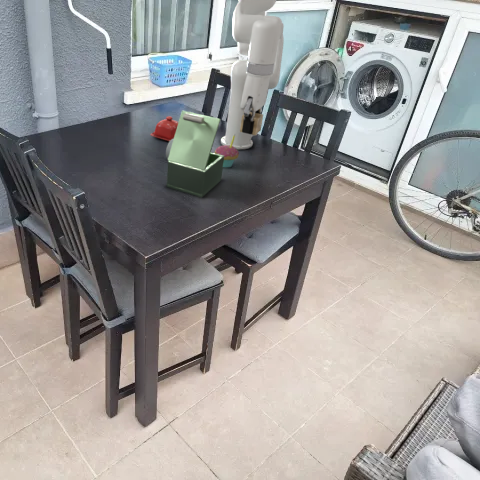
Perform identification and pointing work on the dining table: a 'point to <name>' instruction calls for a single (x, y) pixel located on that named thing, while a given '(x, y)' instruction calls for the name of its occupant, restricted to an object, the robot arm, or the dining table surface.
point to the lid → (193, 140)
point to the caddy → (195, 176)
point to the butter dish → (165, 129)
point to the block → (257, 123)
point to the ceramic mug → (169, 148)
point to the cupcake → (228, 153)
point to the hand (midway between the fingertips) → (250, 129)
